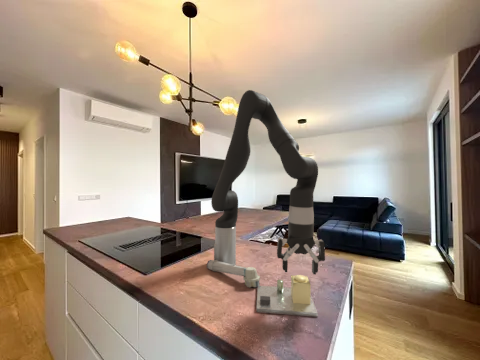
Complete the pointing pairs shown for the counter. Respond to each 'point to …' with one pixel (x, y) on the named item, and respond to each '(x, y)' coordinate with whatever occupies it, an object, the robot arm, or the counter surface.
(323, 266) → the counter surface
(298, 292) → the cube with dome bump
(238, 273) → the white handheld device
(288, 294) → the plate
